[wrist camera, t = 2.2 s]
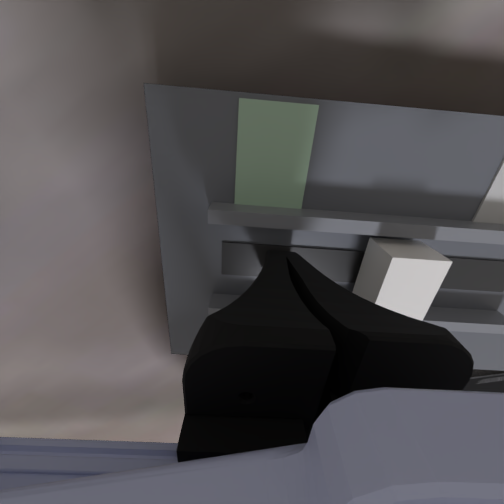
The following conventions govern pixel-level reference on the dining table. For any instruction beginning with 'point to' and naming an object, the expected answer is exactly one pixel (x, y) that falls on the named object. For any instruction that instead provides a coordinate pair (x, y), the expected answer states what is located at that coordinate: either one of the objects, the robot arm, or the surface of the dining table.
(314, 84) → the dining table surface
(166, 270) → the panel
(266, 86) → the dining table surface
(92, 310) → the dining table surface
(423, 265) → the block
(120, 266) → the dining table surface
